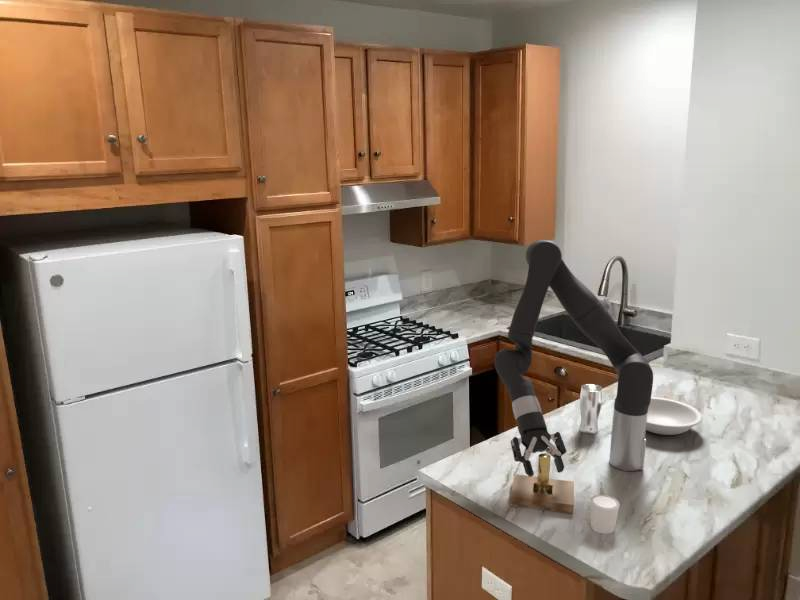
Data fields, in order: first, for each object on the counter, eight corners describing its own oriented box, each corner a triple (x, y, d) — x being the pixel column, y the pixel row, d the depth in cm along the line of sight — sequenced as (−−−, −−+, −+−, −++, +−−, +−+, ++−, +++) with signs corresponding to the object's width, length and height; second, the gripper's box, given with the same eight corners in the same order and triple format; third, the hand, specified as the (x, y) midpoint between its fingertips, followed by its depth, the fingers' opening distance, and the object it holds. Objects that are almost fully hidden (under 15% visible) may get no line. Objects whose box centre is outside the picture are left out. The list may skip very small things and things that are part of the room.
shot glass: (584, 519, 159) (586, 494, 158) (610, 518, 160) (612, 493, 158) (594, 536, 153) (596, 510, 151) (622, 534, 153) (624, 508, 152)
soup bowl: (685, 415, 221) (687, 398, 219) (711, 447, 197) (714, 428, 196) (614, 413, 223) (616, 395, 221) (632, 444, 200) (633, 424, 198)
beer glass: (576, 432, 207) (579, 389, 204) (579, 424, 214) (582, 382, 210) (598, 436, 205) (602, 392, 201) (600, 427, 211) (604, 385, 208)
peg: (548, 495, 170) (550, 454, 168) (547, 501, 168) (550, 459, 165) (536, 493, 171) (539, 452, 168) (536, 499, 168) (538, 458, 165)
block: (573, 489, 173) (573, 481, 172) (573, 513, 162) (573, 505, 161) (513, 482, 177) (514, 473, 176) (509, 505, 166) (510, 496, 165)
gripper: (509, 413, 169) (526, 473, 161) (557, 407, 173) (576, 465, 165) (500, 423, 176) (516, 481, 168) (546, 417, 179) (564, 474, 171)
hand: (546, 473), depth 166 cm, fingers open, 8 cm apart
